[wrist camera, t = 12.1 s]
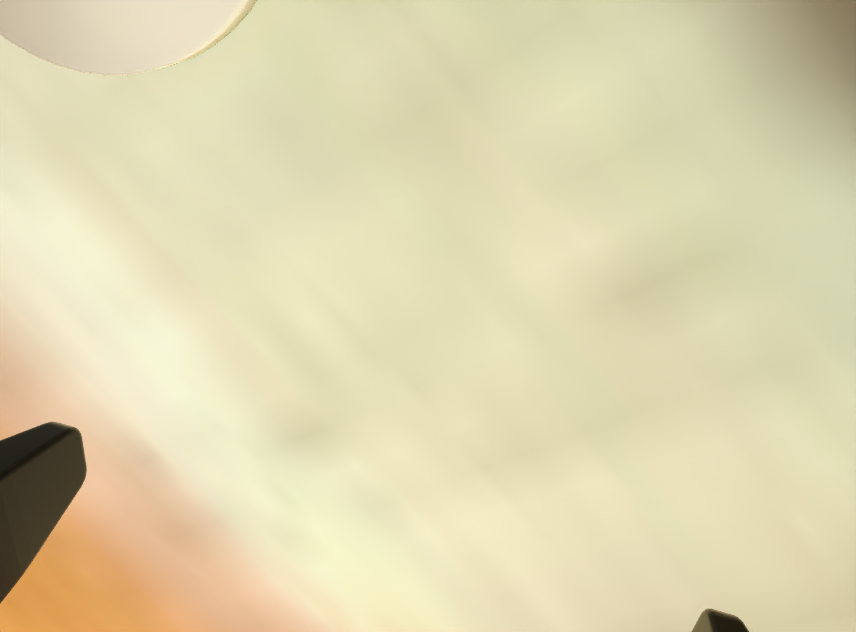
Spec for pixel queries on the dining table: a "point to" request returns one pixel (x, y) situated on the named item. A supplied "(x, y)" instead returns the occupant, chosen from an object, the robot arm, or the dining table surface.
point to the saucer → (119, 31)
